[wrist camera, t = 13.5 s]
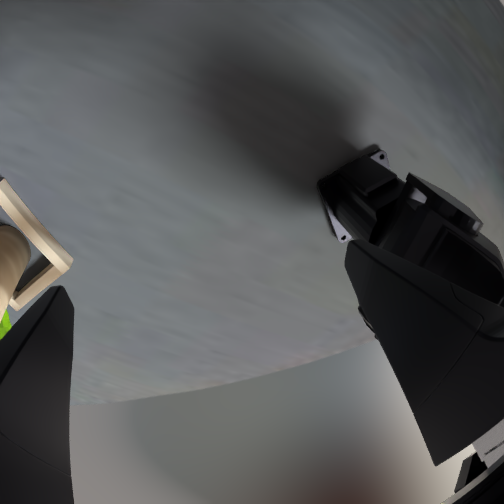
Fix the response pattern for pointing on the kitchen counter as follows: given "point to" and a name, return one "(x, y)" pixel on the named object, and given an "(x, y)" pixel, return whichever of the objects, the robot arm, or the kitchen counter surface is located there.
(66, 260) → the birch collar
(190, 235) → the kitchen counter surface
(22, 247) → the tall beech pin
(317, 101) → the kitchen counter surface
